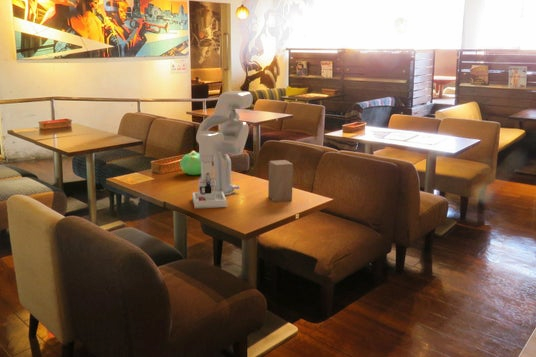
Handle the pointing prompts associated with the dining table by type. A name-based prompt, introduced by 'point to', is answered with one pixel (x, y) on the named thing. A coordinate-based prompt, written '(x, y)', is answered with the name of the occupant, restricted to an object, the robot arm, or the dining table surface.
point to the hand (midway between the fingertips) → (207, 190)
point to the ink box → (202, 190)
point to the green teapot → (191, 163)
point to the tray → (210, 201)
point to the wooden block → (280, 180)
